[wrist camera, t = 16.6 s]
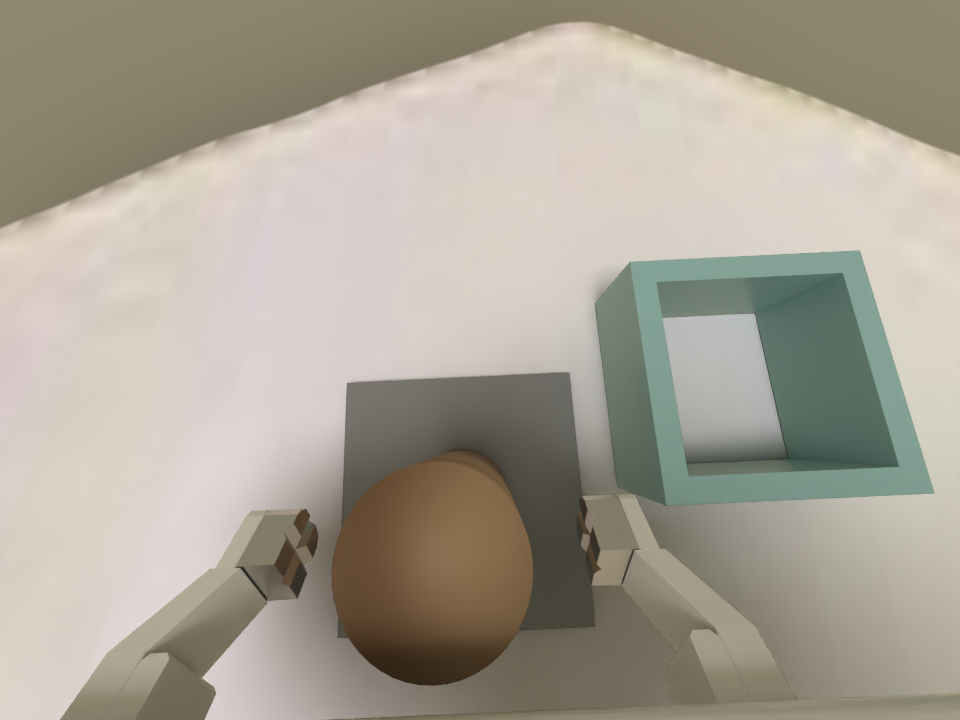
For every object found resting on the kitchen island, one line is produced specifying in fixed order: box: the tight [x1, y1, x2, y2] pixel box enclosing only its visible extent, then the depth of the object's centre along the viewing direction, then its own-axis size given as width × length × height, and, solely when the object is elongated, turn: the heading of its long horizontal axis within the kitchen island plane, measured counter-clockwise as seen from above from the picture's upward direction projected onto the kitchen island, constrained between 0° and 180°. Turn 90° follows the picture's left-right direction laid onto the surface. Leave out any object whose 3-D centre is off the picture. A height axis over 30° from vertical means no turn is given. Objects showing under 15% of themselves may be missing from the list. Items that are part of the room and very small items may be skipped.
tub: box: [595, 251, 934, 506], centre depth 17 cm, size 10×10×5 cm
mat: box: [338, 373, 595, 638], centre depth 18 cm, size 12×12×1 cm
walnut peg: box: [332, 449, 533, 686], centre depth 13 cm, size 4×4×10 cm
